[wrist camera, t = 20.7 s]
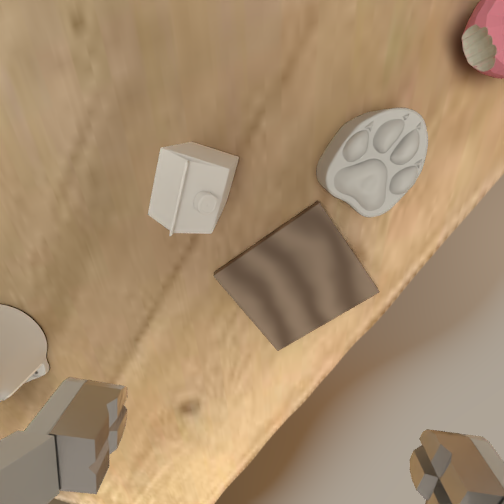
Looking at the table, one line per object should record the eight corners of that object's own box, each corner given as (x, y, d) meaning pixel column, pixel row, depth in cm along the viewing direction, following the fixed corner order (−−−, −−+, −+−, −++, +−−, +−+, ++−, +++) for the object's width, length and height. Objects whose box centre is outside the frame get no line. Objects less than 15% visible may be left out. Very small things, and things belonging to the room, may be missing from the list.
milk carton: (180, 189, 48) (133, 225, 30) (191, 141, 45) (146, 149, 27) (226, 203, 48) (206, 246, 31) (239, 156, 46) (226, 174, 28)
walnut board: (277, 345, 57) (277, 350, 56) (214, 272, 52) (213, 276, 51) (376, 287, 53) (379, 291, 51) (317, 200, 48) (319, 202, 46)
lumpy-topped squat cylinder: (306, 175, 47) (316, 185, 38) (364, 91, 42) (389, 83, 34) (362, 213, 48) (382, 230, 40) (423, 136, 44) (459, 138, 36)
